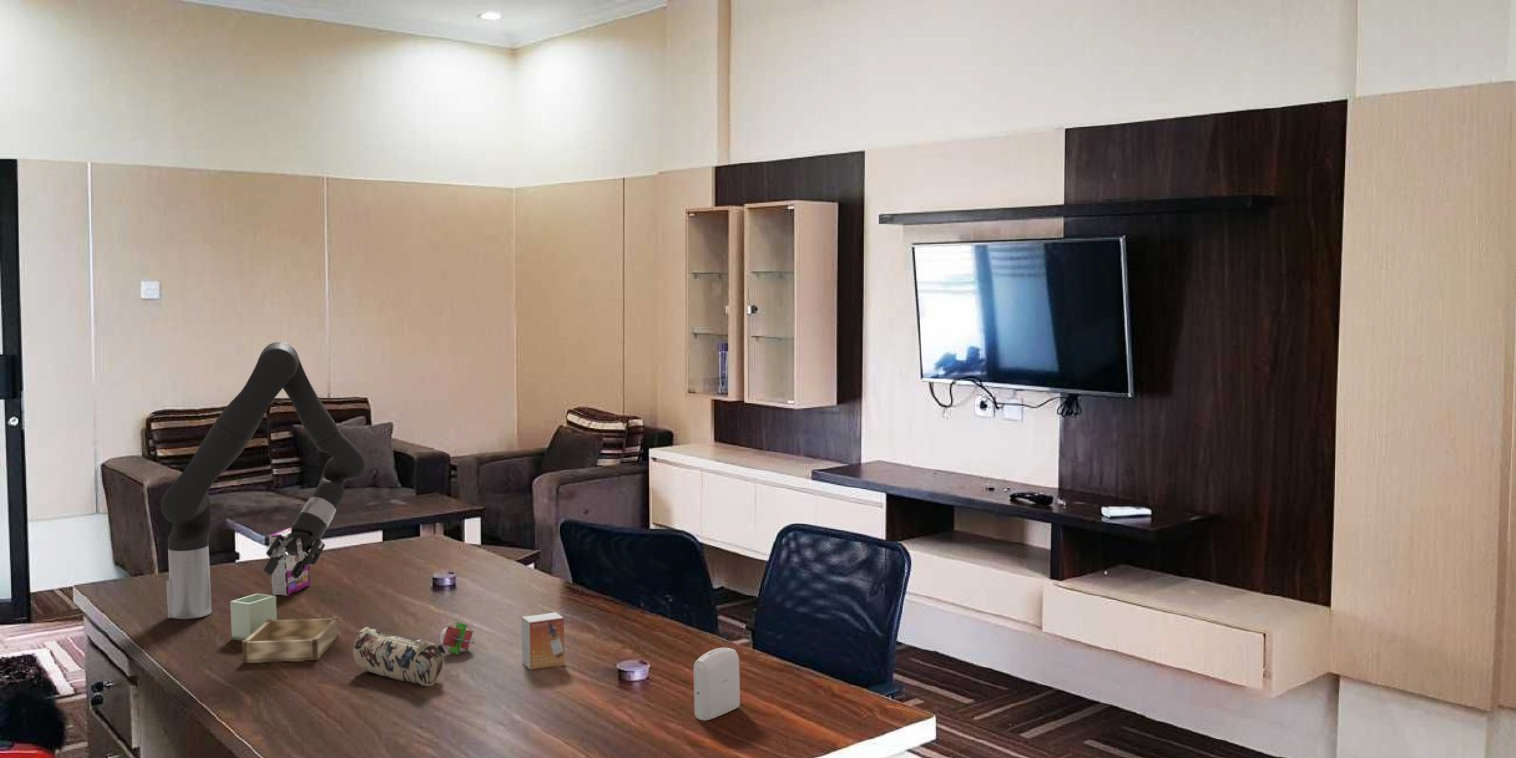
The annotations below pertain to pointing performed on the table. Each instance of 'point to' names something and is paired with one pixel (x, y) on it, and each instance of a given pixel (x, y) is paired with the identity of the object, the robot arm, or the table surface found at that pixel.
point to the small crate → (251, 614)
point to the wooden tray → (290, 640)
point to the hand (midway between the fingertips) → (280, 575)
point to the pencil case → (398, 657)
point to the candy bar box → (287, 572)
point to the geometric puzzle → (456, 637)
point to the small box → (543, 640)
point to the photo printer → (716, 683)
